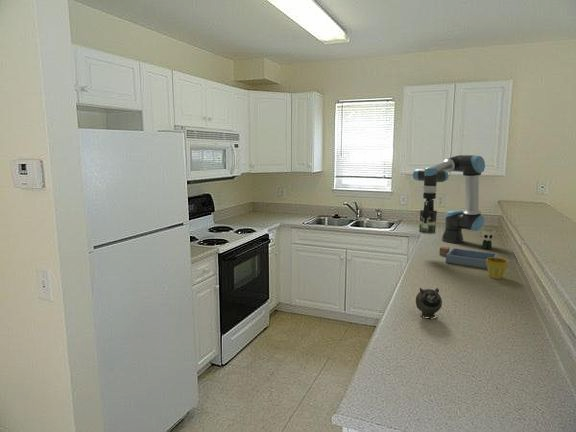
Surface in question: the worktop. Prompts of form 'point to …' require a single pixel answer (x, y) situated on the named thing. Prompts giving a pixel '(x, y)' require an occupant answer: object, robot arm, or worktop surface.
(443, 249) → the brown wooden cube
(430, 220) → the coffee can
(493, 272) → the plant pot
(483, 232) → the character mug
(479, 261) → the tote
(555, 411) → the worktop surface
